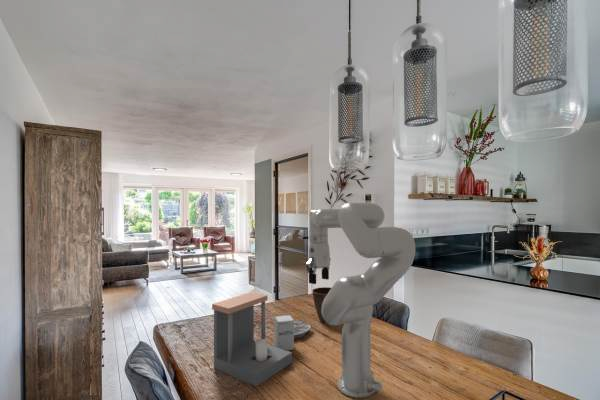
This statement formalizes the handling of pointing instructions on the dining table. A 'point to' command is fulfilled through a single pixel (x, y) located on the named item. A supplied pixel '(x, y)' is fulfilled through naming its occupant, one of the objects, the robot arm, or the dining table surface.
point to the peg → (261, 350)
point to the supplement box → (284, 332)
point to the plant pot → (320, 300)
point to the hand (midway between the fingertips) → (319, 281)
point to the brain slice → (300, 328)
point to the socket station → (244, 340)
